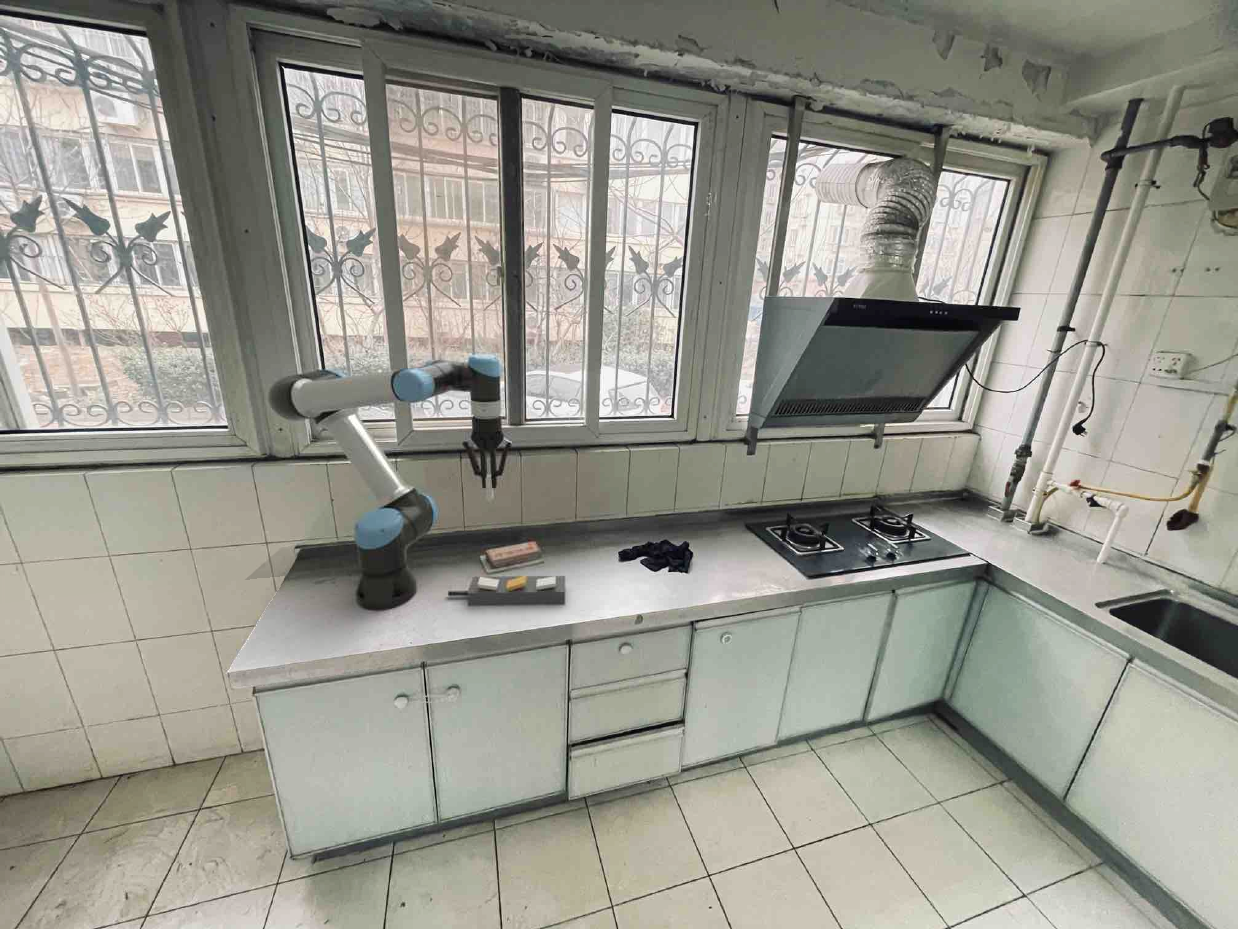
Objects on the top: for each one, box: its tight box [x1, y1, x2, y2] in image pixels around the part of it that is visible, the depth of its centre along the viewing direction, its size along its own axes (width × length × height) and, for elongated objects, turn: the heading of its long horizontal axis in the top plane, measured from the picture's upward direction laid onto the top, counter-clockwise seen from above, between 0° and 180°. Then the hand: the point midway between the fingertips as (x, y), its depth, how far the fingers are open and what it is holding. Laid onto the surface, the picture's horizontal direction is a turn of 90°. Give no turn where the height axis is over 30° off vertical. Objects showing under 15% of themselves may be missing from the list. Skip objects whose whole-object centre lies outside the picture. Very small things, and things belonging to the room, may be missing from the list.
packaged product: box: [479, 540, 545, 575], centre depth 155 cm, size 18×5×10 cm
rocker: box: [536, 575, 557, 590], centre depth 135 cm, size 5×4×1 cm
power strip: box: [447, 575, 566, 607], centre depth 136 cm, size 32×8×4 cm, turn 95°
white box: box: [477, 576, 499, 590], centre depth 134 cm, size 5×4×1 cm
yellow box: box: [506, 575, 527, 591], centre depth 134 cm, size 5×4×1 cm
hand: (490, 498), depth 135 cm, fingers closed
